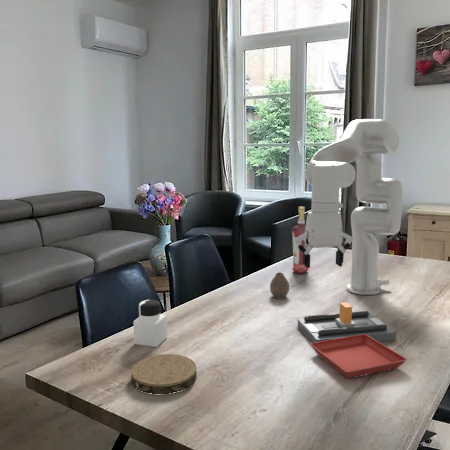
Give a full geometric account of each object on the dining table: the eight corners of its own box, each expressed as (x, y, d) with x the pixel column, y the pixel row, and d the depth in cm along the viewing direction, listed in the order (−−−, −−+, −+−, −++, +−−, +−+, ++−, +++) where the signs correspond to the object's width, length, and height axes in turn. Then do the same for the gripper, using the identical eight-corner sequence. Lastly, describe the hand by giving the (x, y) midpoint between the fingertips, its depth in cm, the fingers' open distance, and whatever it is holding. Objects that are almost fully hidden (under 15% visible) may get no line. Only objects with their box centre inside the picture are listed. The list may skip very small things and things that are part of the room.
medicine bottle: (167, 337, 148) (166, 299, 146) (156, 347, 141) (154, 307, 139) (145, 334, 150) (144, 296, 148) (133, 344, 144) (132, 304, 141)
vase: (288, 293, 186) (289, 270, 184) (289, 300, 179) (289, 276, 177) (270, 293, 187) (270, 270, 185) (269, 299, 180) (270, 275, 178)
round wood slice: (203, 390, 119) (203, 378, 118) (135, 401, 114) (135, 389, 114) (188, 361, 134) (188, 350, 133) (128, 369, 129) (127, 358, 129)
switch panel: (369, 320, 160) (369, 307, 159) (395, 340, 144) (396, 327, 144) (297, 326, 155) (297, 313, 154) (316, 348, 140) (317, 334, 139)
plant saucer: (308, 353, 137) (309, 342, 137) (364, 343, 143) (365, 332, 143) (346, 384, 121) (346, 372, 120) (407, 371, 127) (408, 359, 126)
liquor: (310, 274, 210) (311, 208, 204) (292, 274, 210) (293, 208, 204) (307, 269, 217) (309, 205, 211) (290, 269, 217) (291, 205, 212)
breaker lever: (347, 321, 152) (348, 301, 151) (355, 327, 147) (356, 307, 146) (335, 322, 151) (336, 302, 150) (342, 328, 147) (343, 308, 145)
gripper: (348, 205, 147) (346, 261, 151) (291, 206, 145) (290, 264, 148) (359, 208, 140) (356, 268, 143) (299, 210, 137) (298, 271, 141)
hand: (322, 266), depth 146 cm, fingers open, 9 cm apart
